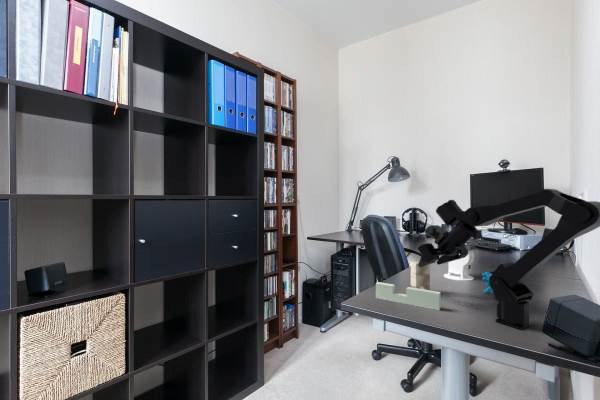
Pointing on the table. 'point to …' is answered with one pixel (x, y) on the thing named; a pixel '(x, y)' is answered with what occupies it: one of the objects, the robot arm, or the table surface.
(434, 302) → the sage slotted plate
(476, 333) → the table surface
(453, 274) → the white bracket stand
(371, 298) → the table surface
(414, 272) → the ash notched plate
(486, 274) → the blue lumpy piece
